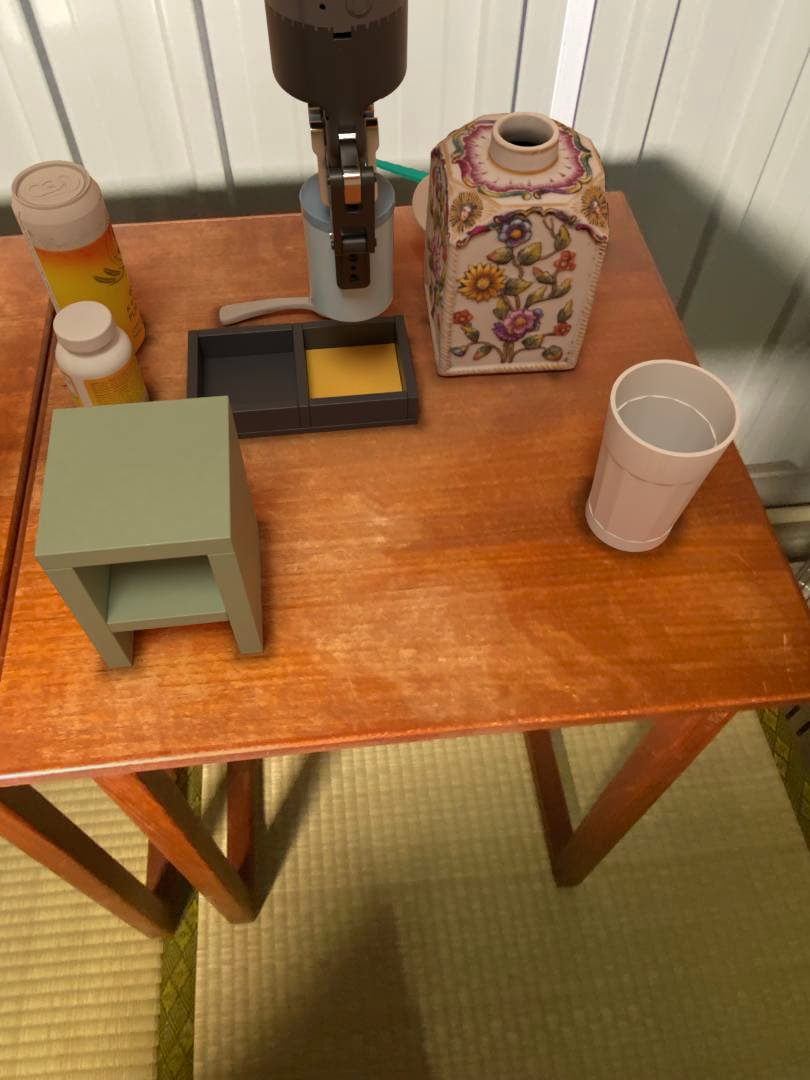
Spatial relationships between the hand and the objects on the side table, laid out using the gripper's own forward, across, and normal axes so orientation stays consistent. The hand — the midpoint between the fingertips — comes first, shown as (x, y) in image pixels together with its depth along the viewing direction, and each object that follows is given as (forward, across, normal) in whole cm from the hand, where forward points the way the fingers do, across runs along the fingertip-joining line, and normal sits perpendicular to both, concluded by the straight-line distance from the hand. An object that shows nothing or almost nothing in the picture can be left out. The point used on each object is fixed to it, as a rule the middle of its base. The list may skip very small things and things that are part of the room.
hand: (349, 251), depth 57 cm
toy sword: (+12, -14, +25) cm, 31 cm away
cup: (+14, +15, +19) cm, 28 cm away
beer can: (+13, -7, -20) cm, 25 cm away
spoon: (+13, -9, -5) cm, 17 cm away
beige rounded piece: (+6, -13, +9) cm, 17 cm away
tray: (+13, 0, -4) cm, 14 cm away
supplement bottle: (+13, +1, -19) cm, 23 cm away
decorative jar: (+13, -5, +13) cm, 19 cm away
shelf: (+13, +18, -13) cm, 26 cm away
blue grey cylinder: (+4, 0, 0) cm, 4 cm away
